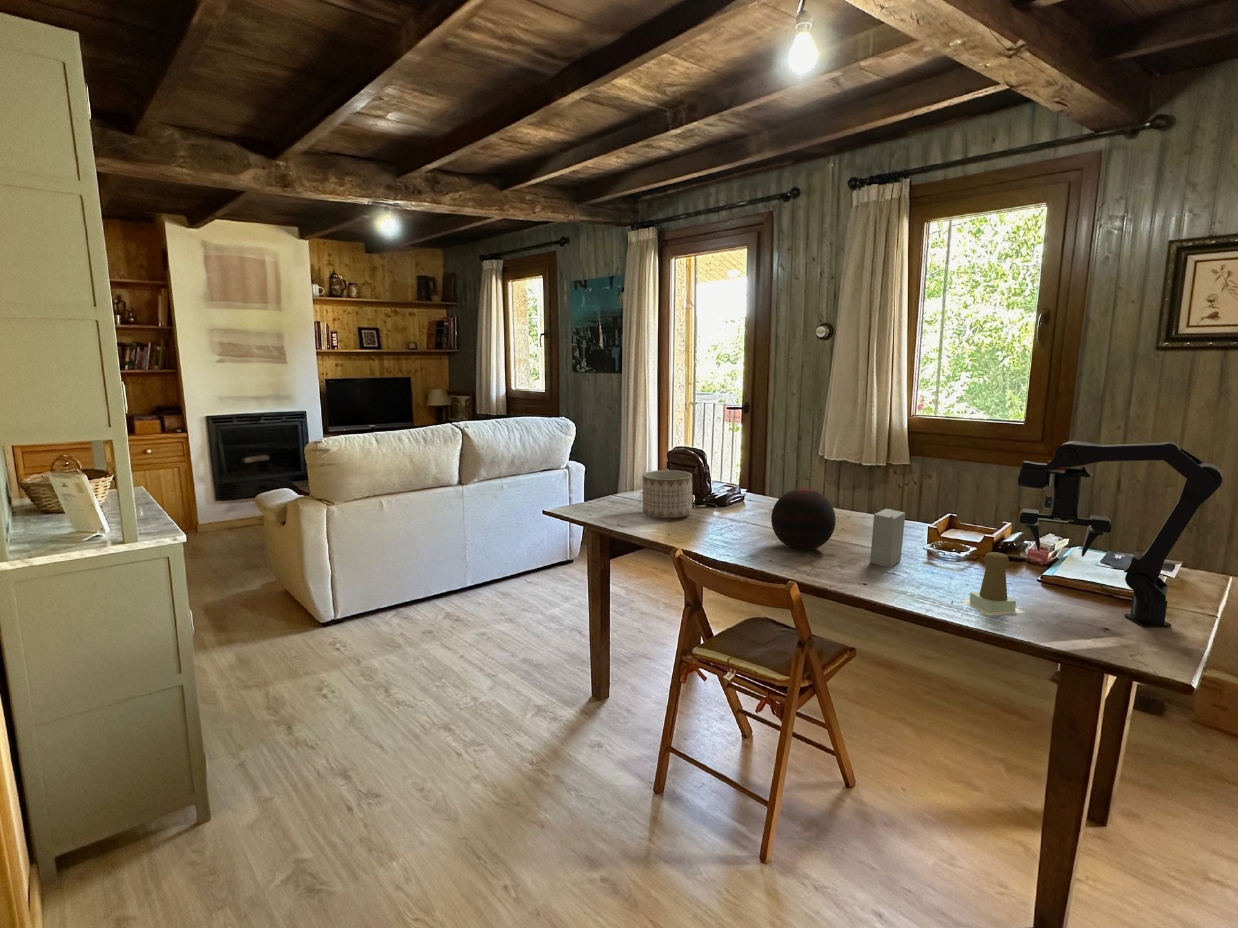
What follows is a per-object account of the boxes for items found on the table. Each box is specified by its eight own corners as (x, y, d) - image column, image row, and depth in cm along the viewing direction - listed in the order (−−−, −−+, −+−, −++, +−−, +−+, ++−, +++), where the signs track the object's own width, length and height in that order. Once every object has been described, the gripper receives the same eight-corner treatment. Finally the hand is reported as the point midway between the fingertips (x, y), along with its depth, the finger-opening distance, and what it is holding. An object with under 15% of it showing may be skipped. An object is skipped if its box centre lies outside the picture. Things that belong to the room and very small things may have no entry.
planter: (645, 509, 273) (645, 469, 270) (692, 510, 270) (692, 470, 267) (640, 521, 254) (640, 479, 251) (691, 522, 251) (691, 479, 248)
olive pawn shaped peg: (977, 590, 167) (980, 548, 165) (1004, 593, 165) (1008, 550, 163) (981, 599, 161) (985, 556, 159) (1009, 602, 159) (1013, 558, 157)
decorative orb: (805, 537, 229) (807, 480, 226) (848, 552, 212) (850, 491, 208) (758, 545, 221) (759, 486, 217) (798, 562, 203) (800, 498, 200)
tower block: (1015, 610, 161) (1016, 600, 160) (988, 612, 160) (989, 602, 159) (995, 599, 167) (995, 590, 167) (969, 601, 166) (970, 592, 166)
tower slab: (1024, 618, 160) (1025, 612, 159) (986, 621, 158) (987, 615, 158) (995, 602, 169) (996, 597, 169) (959, 605, 168) (960, 599, 168)
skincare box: (880, 557, 207) (883, 507, 204) (903, 562, 202) (906, 511, 199) (868, 563, 201) (871, 512, 198) (891, 568, 196) (894, 516, 193)
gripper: (1110, 490, 166) (1103, 550, 169) (1023, 483, 176) (1017, 540, 178) (1114, 499, 157) (1107, 562, 159) (1022, 491, 166) (1016, 551, 169)
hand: (1060, 553), depth 167 cm, fingers open, 9 cm apart
